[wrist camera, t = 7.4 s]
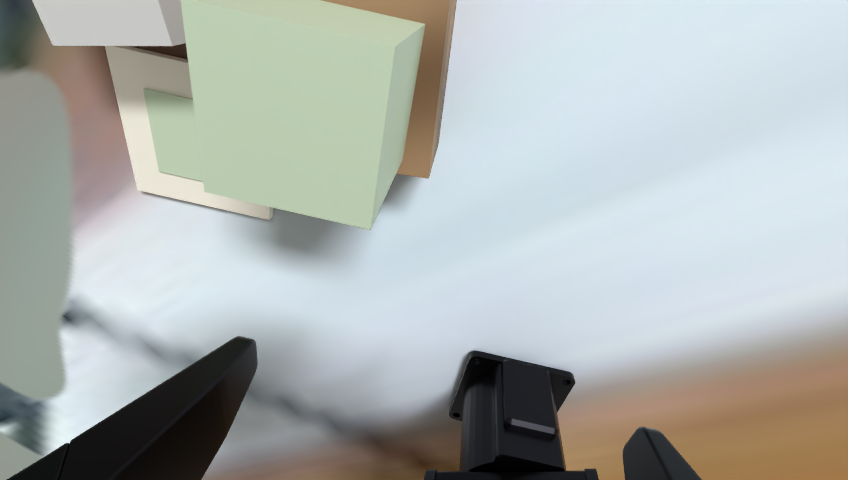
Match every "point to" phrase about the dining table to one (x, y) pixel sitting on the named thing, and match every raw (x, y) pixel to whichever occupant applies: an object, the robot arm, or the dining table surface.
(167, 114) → the swatch tile
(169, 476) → the robot arm
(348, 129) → the sage block
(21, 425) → the dining table surface
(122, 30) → the grey block
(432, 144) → the walnut block
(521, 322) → the dining table surface
